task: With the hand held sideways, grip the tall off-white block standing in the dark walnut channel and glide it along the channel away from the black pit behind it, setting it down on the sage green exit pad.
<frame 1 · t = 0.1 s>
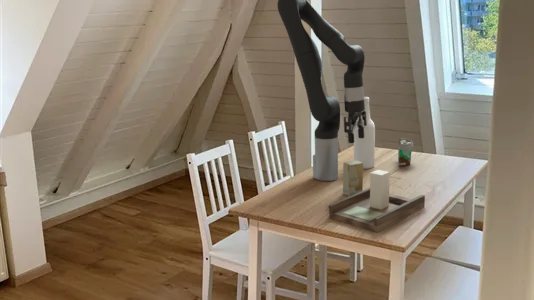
hand: (356, 140, 217), 17 cm above the table, tool pointing down, fingers open, 8 cm apart
skincare box: (352, 194, 210), on the table
channel: (379, 211, 191), on the table
food container: (405, 164, 244), on the table
block: (379, 206, 191), point 2 cm above the table, touching channel
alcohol: (364, 166, 243), on the table
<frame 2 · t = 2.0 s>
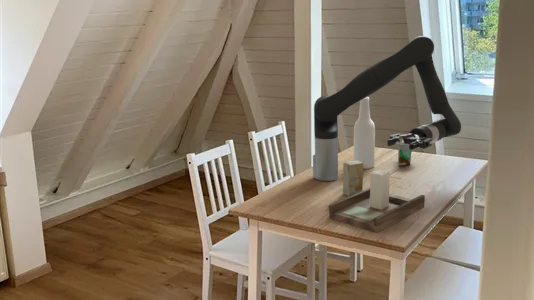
hand: (399, 145, 193), 21 cm above the table, tool horizontal, fingers open, 8 cm apart
nothing on the table moved.
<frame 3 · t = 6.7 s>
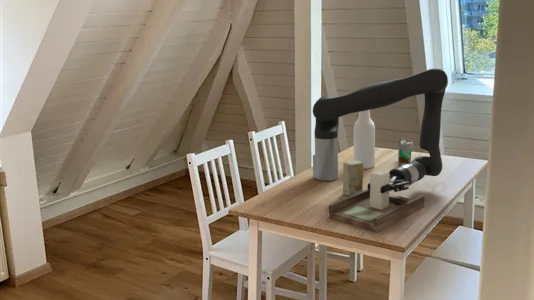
hand: (375, 188, 187), 9 cm above the table, tool horizontal, fingers closed on block, 4 cm apart
block: (379, 206, 191), point 2 cm above the table, touching channel, gripper
everything else where it was.
when the fingers open (10 cm above the table, at t = 10.8 s): block stays where it is, resting on channel.
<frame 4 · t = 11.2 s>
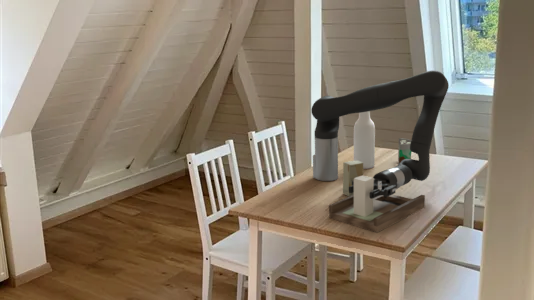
hand: (359, 192, 181), 10 cm above the table, tool horizontal, fingers open, 8 cm apart
block: (363, 213, 185), point 2 cm above the table, touching channel
everything else where it was.
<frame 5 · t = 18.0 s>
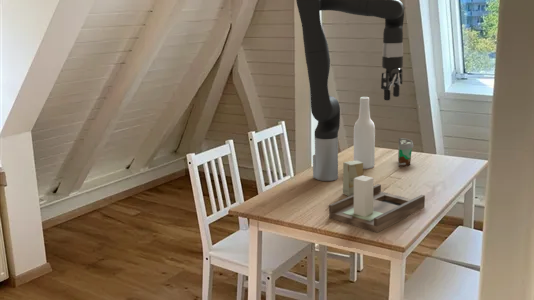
hand: (391, 98, 213), 33 cm above the table, tool pointing down, fingers open, 8 cm apart
nothing on the table moved.
at the end: block inside the target area on the channel (0.1 cm from its centre), point 2.2 cm above the channel's base; block tilted 0°; the gripper is holding nothing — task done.
